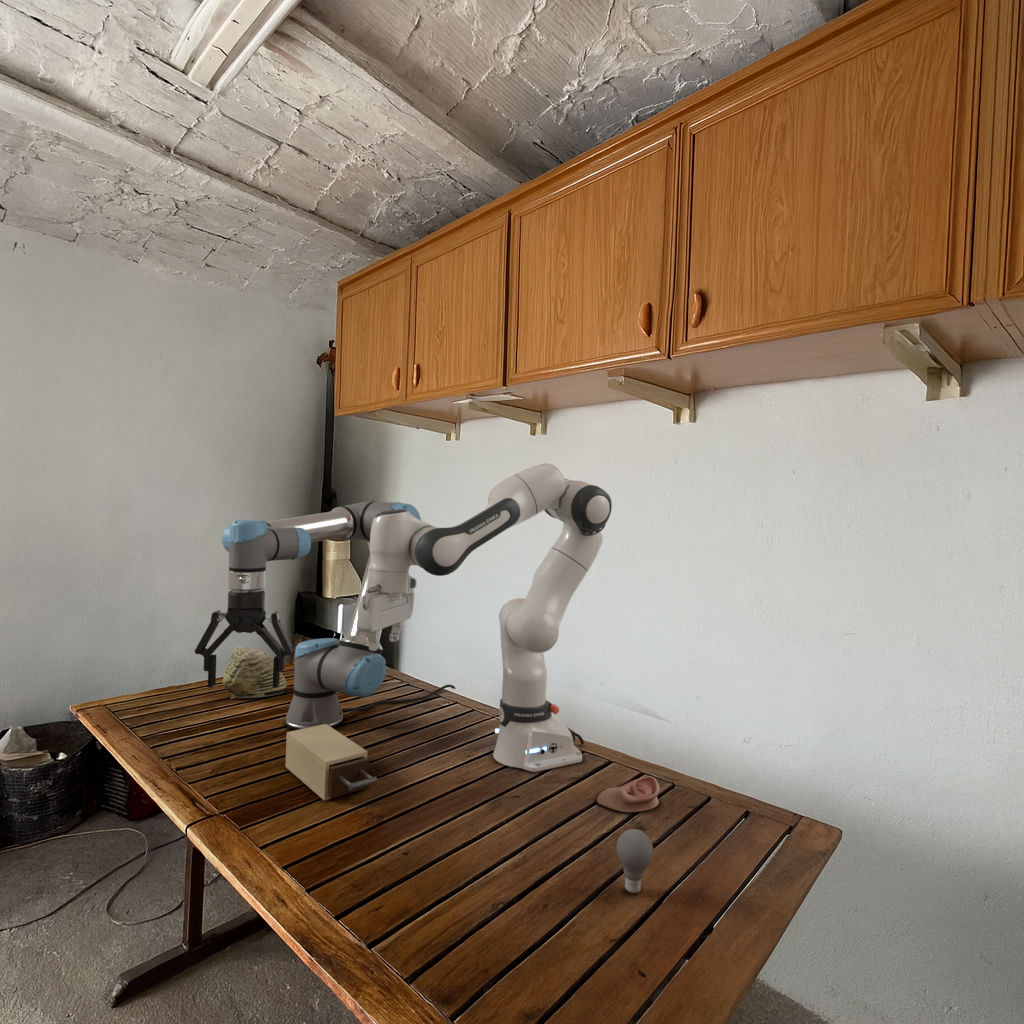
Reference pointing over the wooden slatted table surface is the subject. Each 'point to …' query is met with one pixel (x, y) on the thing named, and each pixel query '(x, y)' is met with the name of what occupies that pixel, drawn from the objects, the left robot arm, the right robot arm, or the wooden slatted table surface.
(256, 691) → the fossil
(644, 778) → the anatomical model
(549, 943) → the wooden slatted table surface
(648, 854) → the light bulb
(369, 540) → the left robot arm
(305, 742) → the cabinet
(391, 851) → the wooden slatted table surface
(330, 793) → the drawer
